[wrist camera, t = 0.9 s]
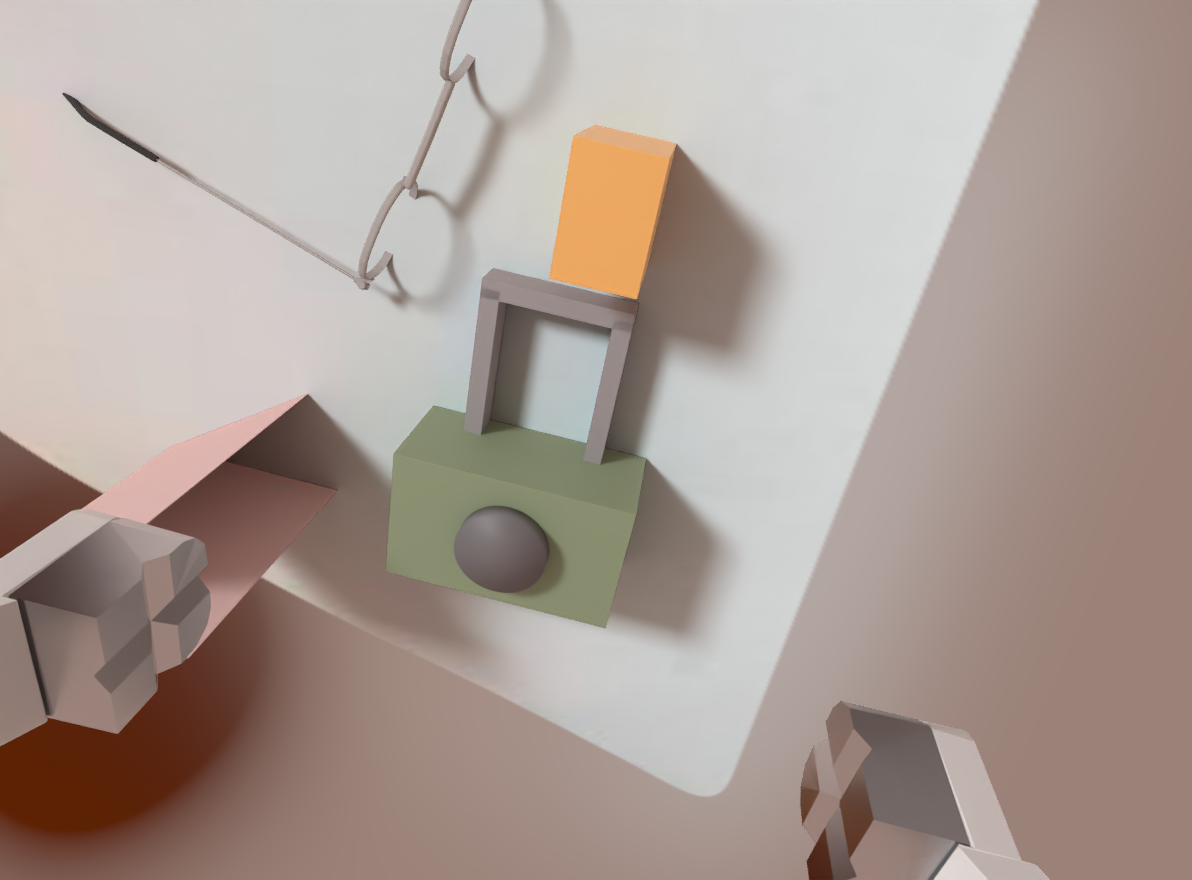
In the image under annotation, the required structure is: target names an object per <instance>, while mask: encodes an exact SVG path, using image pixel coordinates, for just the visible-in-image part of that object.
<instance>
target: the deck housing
mask: <svg viewBox="0 0 1192 880" xmlns="http://www.w3.org/2000/svg"><path fill="white" fill-rule="evenodd" d="M507 303H508V304H512V305H516V306H520V307H524V308H528V309H533V310H537V311H541V312H545V313H549V314H553V315H557V316H562V317H566V318H570V319H574V320H578V321H582V322H586V323H591V324H595V325H599V326H603V327H607V328H611V329H612V331H611V336H610V340H609V345H608V349H607V354H606V359H605V363H604V368H603V372H602V377H601V381H600V386H599V390H598V395H597V399H596V404H595V409H594V413H593V418H592V422H591V427H590V431H589V436H588V440H587V444H586V443H582V442H578V441H574V440H570V439H566V438H562V437H558V436H554V435H550V434H546V433H542V432H538V431H534V430H530V429H526V428H522V427H518V426H514V425H510V424H506V423H501V422H497V421H493V420H490V419H491V411H492V404H493V397H494V390H495V383H496V376H497V369H498V362H499V355H500V348H501V341H502V334H503V327H504V320H505V313H506V306H507ZM638 306H639V303H636V302H631V301H627V300H623V299H619V298H615V297H611V296H606V295H602V294H598V293H594V292H590V291H586V290H581V289H577V288H573V287H569V286H565V285H561V284H556V283H552V282H548V281H544V280H540V279H536V278H531V277H527V276H523V275H519V274H515V273H511V272H506V271H502V270H498V269H494V268H493V269H492V270H491V271H490V272H488V273H487V274H486V275H485V276H484V277H483V278H482V285H481V293H480V301H479V309H478V318H477V326H476V334H475V342H474V350H473V359H472V367H471V375H470V383H469V391H468V399H467V408H466V414H465V413H461V412H457V411H453V410H449V409H445V408H441V407H437V406H433V407H432V408H431V409H430V410H429V412H428V413H427V414H426V415H425V416H424V418H423V419H422V420H421V421H420V422H419V424H418V425H417V426H416V427H415V429H414V430H413V431H412V432H411V433H410V435H409V436H408V437H407V438H406V439H405V441H404V442H403V443H402V444H401V445H400V447H399V448H398V449H397V450H396V451H395V453H394V457H393V471H392V486H391V500H390V514H389V529H388V543H387V558H386V572H389V573H393V574H397V575H401V576H405V577H408V578H412V579H416V580H420V581H424V582H428V583H432V584H436V585H440V586H443V587H447V588H451V589H455V590H459V591H463V592H467V593H471V594H475V595H478V596H482V597H486V598H490V599H494V600H498V601H502V602H506V603H509V604H513V605H517V606H521V607H525V608H529V609H533V610H537V611H541V612H544V613H548V614H552V615H556V616H560V617H564V618H568V619H572V620H576V621H579V622H583V623H587V624H591V625H595V626H599V627H603V628H605V627H606V624H607V620H608V617H609V613H610V609H611V606H612V602H613V598H614V595H615V591H616V587H617V584H618V580H619V576H620V573H621V569H622V565H623V562H624V558H625V555H626V551H627V547H628V544H629V540H630V536H631V533H632V529H633V525H634V522H635V518H636V514H637V509H638V503H639V497H640V492H641V486H642V480H643V475H644V469H645V463H646V458H643V457H639V456H635V455H631V454H627V453H622V452H618V451H614V450H610V449H606V448H605V446H606V442H607V438H608V434H609V429H610V425H611V421H612V417H613V412H614V408H615V404H616V400H617V395H618V391H619V387H620V383H621V378H622V374H623V370H624V366H625V361H626V357H627V353H628V348H629V344H630V340H631V336H632V331H633V327H634V323H635V319H636V314H637V310H638Z"/></svg>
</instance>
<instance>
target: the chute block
mask: <svg viewBox="0 0 1192 880" xmlns="http://www.w3.org/2000/svg"><path fill="white" fill-rule="evenodd" d="M675 149H676V143H671V142H667V141H663V140H658V139H654V138H650V137H645V136H641V135H637V134H632V133H628V132H624V131H619V130H615V129H611V128H606V127H602V126H598V125H594V126H592V127H590V128H588V129H586V130H584V131H582V132H580V133H578V134H576V135H574V136H573V142H572V147H571V153H570V159H569V165H568V171H567V177H566V183H565V189H564V195H563V201H562V207H561V213H560V219H559V225H558V230H557V236H556V242H555V248H554V254H553V260H552V266H551V272H550V278H549V279H553V280H558V281H562V282H566V283H570V284H574V285H578V286H583V287H587V288H591V289H595V290H599V291H604V292H608V293H612V294H616V295H620V296H624V297H629V298H633V299H637V297H638V294H639V291H640V288H641V285H642V282H643V279H644V276H645V273H646V270H647V267H648V264H649V259H650V255H651V251H652V247H653V242H654V238H655V234H656V230H657V225H658V221H659V217H660V213H661V208H662V204H663V200H664V195H665V191H666V187H667V183H668V178H669V174H670V170H671V166H672V161H673V157H674V153H675Z"/></svg>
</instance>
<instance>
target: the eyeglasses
mask: <svg viewBox="0 0 1192 880" xmlns="http://www.w3.org/2000/svg"><path fill="white" fill-rule="evenodd" d="M471 1H472V0H461V1H460V4H459V6H458V9H457V11H456V14H455V16H454V19H453V21H452V24H451V27H450V29H449V32H448V35H447V38H446V42H445V45H444V48H443V51H442V57H441V63H440V75H441V76H442V78H443V79H444V80H445V84H444V86H443V89H442V92H441V94H440V97H439V99H438V102H437V104H436V107H435V109H434V112H433V114H432V117H431V119H430V122H429V124H428V127H427V129H426V132H425V134H424V137H423V139H422V142H421V144H420V147H419V149H418V151H417V154H416V156H415V159H414V161H413V163H412V166H411V168H410V171H409V173H408V175H407V177H406V176H404V177H403V179H402V180H401V181H399V182H398V183H397V184H396V185H395V186H394V187H393V189H392V190H391V191H390V193H389V194H388V196H387V198H386V199H385V201H384V202H383V204H382V206H381V208H380V210H379V212H378V214H377V216H376V218H375V220H374V222H373V225H372V227H371V229H370V232H369V234H368V237H367V239H366V242H365V245H364V247H363V250H362V253H361V257H360V261H359V269H358V273H359V276H360V277H362V278H355V277H353V276H352V275H350V274H348V273H347V272H345V271H344V270H342V269H340V268H339V267H337V266H335V265H334V264H332V263H330V262H329V261H327V260H325V259H324V258H322V257H320V256H319V255H317V254H315V253H314V252H312V251H310V250H309V249H307V248H305V247H304V246H302V245H300V244H299V243H297V242H295V241H294V240H292V239H290V238H289V237H287V236H285V235H284V234H282V233H280V232H279V231H277V230H275V229H274V228H272V227H270V226H269V225H267V224H265V223H264V222H262V221H260V220H259V219H257V218H255V217H254V216H252V215H250V214H249V213H247V212H245V211H244V210H242V209H240V208H239V207H237V206H235V205H234V204H232V203H230V202H229V201H227V200H225V199H224V198H222V197H220V196H219V195H217V194H215V193H214V192H212V191H210V190H209V189H207V188H206V187H204V186H202V185H201V184H199V183H197V182H196V181H194V180H192V179H191V178H189V177H187V176H186V175H184V174H182V173H181V172H179V171H177V170H176V169H174V168H172V167H171V166H169V165H167V164H166V163H164V162H162V161H161V160H159V157H157V156H156V155H154V154H153V153H151V152H149V151H148V150H146V149H145V148H143V147H141V146H140V145H138V144H136V143H135V142H133V141H131V140H130V139H128V138H126V137H125V136H123V135H121V134H120V133H118V132H116V131H115V130H113V129H111V128H110V127H108V126H107V125H105V124H103V123H102V122H100V121H98V120H97V119H95V118H94V117H92V116H91V115H90V114H88V113H87V112H86V111H85V110H84V109H83V108H82V106H81V105H80V103H79V102H78V101H77V100H76V99H75V98H73V97H72V96H69V95H67V94H65V93H62V94H63V95H64V96H65V98H66V99H67V100H68V101H69V102H70V103H71V105H72V106H73V107H74V108H75V109H76V111H77V112H78V113H79V114H80V115H81V116H82V117H83V118H84V119H85V120H86V121H87V122H89V123H91V124H92V125H94V126H95V127H97V128H99V129H100V130H102V131H104V132H105V133H107V134H109V135H110V136H112V137H113V138H115V139H117V140H118V141H120V142H122V143H123V144H125V145H127V146H128V147H130V148H132V149H133V150H135V151H137V152H138V153H140V154H142V155H144V156H145V157H147V158H149V159H150V160H152V161H154V162H159V163H161V164H162V165H164V166H166V167H167V168H169V169H171V170H172V171H174V172H176V173H177V174H179V175H181V176H182V177H184V178H186V179H187V180H189V181H191V182H192V183H194V184H196V185H197V186H199V187H201V188H202V189H204V190H206V191H207V192H209V193H211V194H212V195H214V196H216V197H217V198H219V199H221V200H222V201H224V202H226V203H227V204H229V205H231V206H232V207H234V208H236V209H237V210H239V211H241V212H242V213H244V214H246V215H247V216H249V217H251V218H252V219H254V220H256V221H257V222H259V223H261V224H262V225H264V226H266V227H267V228H269V229H271V230H272V231H274V232H275V233H277V234H279V235H280V236H282V237H284V238H285V239H287V240H289V241H290V242H292V243H294V244H295V245H297V246H299V247H300V248H302V249H304V250H305V251H307V252H309V253H310V254H312V255H314V256H315V257H317V258H319V259H320V260H322V261H324V262H325V263H327V264H329V265H330V266H332V267H334V268H335V269H337V270H339V271H340V272H342V273H344V274H345V275H347V276H349V277H350V278H352V279H354V282H355V283H356V284H357V286H358V287H359V288H360V289H362V290H364V289H365V290H368V288H369V286H370V285H369V282H371V281H373V280H374V277H376V276H377V275H378V274H379V273H380V272H381V271H382V270H383V269H384V268H385V266H386V265H387V264H388V262H389V260H390V259H391V257H392V254H391V253H389V252H387V251H386V252H385V253H384V255H383V257H382V258H381V260H380V261H379V262H378V264H377V265H376V266H375V267H374V268H373V269H372V270H371V271H369V272H368V273H366V270H367V263H368V260H369V256H370V253H371V250H372V248H373V245H374V243H375V240H376V238H377V235H378V233H379V231H380V228H381V226H382V224H383V222H384V220H385V218H386V216H387V214H388V211H389V210H390V208H391V206H392V205H393V203H394V202H395V200H396V198H397V197H398V196H399V194H400V193H401V192H402V191H403V190H404V189H405V188H407V189H410V192H409V195H410V196H411V197H413V198H414V199H416V197H417V192H418V185H417V182H416V178H417V176H418V174H419V171H420V169H421V167H422V164H423V162H424V159H425V157H426V155H427V152H428V150H429V148H430V145H431V143H432V141H433V138H434V136H435V133H436V131H437V128H438V126H439V123H440V121H441V118H442V116H443V113H444V111H445V108H446V106H447V103H448V101H449V98H450V96H451V93H452V91H453V88H454V86H455V83H456V82H458V81H459V80H460V79H461V78H462V77H463V76H464V74H465V73H466V71H467V70H468V69H469V67H470V66H471V64H472V62H473V61H474V59H475V58H474V57H472V56H470V55H469V54H467V55H466V56H465V58H464V60H463V61H462V63H461V64H460V65H459V67H458V68H457V69H456V70H455V71H454V72H453V73H452V74H451V75H450V76H449V66H450V60H451V55H452V52H453V49H454V46H455V43H456V40H457V36H458V34H459V31H460V29H461V26H462V24H463V21H464V18H465V16H466V13H467V11H468V8H469V6H470V4H471Z"/></svg>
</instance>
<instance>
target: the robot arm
mask: <svg viewBox="0 0 1192 880" xmlns="http://www.w3.org/2000/svg"><path fill="white" fill-rule="evenodd" d="M207 565H208V562H207V555H206V548H205V543H203V542H201V541H200V540H198V539H197V538H194V537H191V536H187V535H183V534H180V533H176V532H173V531H169V530H166V529H162V528H158V527H155V526H151V525H148V524H144V523H141V522H137V521H133V520H130V519H126V518H119V517H115V516H112V515H109V514H105V513H102V512H98V511H95V510H91V509H88V508H86V509H80V510H75V511H71V512H69V513H68V514H66V515H65V516H63V517H62V518H61V519H59V520H58V521H56V522H55V523H53V524H52V525H50V526H49V527H47V528H46V529H44V530H43V531H41V532H40V533H38V534H37V535H35V536H34V537H33V538H31V539H29V540H28V541H26V542H25V543H23V544H22V545H20V546H19V547H17V548H16V549H15V550H13V551H11V552H10V553H8V554H7V555H6V556H4V557H3V558H1V559H0V746H1V745H3V744H5V743H7V742H9V741H11V740H13V739H14V738H17V737H19V736H21V735H22V734H24V733H26V732H28V731H30V730H32V729H34V728H36V727H38V726H40V725H42V724H44V723H45V722H47V717H48V718H53V719H57V720H61V721H65V722H70V723H74V724H78V725H82V726H87V727H91V728H95V729H100V730H104V731H108V732H112V733H117V734H118V733H119V732H120V731H121V730H122V729H123V727H124V726H125V725H126V724H127V723H128V722H129V721H130V720H131V719H132V718H133V716H134V715H135V714H136V713H137V712H138V711H139V710H140V709H141V708H142V707H143V705H144V704H145V703H146V702H147V701H148V700H149V699H150V698H151V696H152V695H153V694H154V693H155V692H156V691H157V674H158V673H160V672H162V671H165V670H167V669H169V668H172V667H174V666H176V665H179V664H181V663H182V662H183V661H184V660H185V659H186V658H187V656H188V655H189V654H190V653H191V652H192V651H193V650H194V648H195V647H196V646H197V644H198V642H199V640H200V638H201V636H202V634H203V632H204V630H205V628H206V626H207V624H208V620H209V615H210V609H211V598H210V591H209V590H208V588H207V587H206V586H205V584H204V583H203V582H202V580H201V579H200V578H199V576H198V574H199V573H200V572H201V571H202V570H203V569H204V568H205V567H206V566H207ZM826 726H827V732H828V739H827V740H825V741H823V742H821V743H819V744H817V745H815V746H813V748H812V751H811V753H810V755H809V758H808V760H807V762H806V764H805V768H804V773H803V778H802V783H801V797H800V806H801V816H802V825H803V826H804V828H805V829H806V831H807V832H808V834H809V835H810V836H811V838H812V839H813V841H814V842H815V843H816V845H815V847H814V848H813V850H812V852H811V854H810V856H809V858H808V859H807V868H808V875H809V880H1050V879H1049V878H1048V877H1047V876H1046V875H1045V874H1044V873H1043V872H1042V871H1041V870H1040V869H1039V868H1038V867H1037V866H1036V865H1035V864H1032V863H1028V862H1025V861H1022V859H1021V857H1020V854H1019V852H1018V850H1017V847H1016V844H1015V842H1014V840H1013V837H1012V835H1011V832H1010V830H1009V827H1008V824H1007V822H1006V820H1005V817H1004V814H1003V812H1002V809H1001V807H1000V805H999V802H998V799H997V797H996V794H995V792H994V790H993V787H992V785H991V782H990V780H989V777H988V775H987V772H986V769H985V767H984V764H983V762H982V759H981V757H980V755H979V752H978V749H977V747H976V744H975V742H974V740H973V738H972V737H971V736H970V735H969V734H968V733H967V732H966V731H965V730H960V729H956V728H952V727H948V726H943V725H939V724H935V723H931V722H927V721H919V720H917V719H913V718H909V717H905V716H901V715H896V714H892V713H888V712H884V711H880V710H876V709H872V708H868V707H864V706H860V705H856V704H851V703H847V702H843V701H840V702H839V703H838V704H837V705H836V706H834V707H833V709H832V711H831V713H830V715H829V717H828V718H827V720H826Z"/></svg>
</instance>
